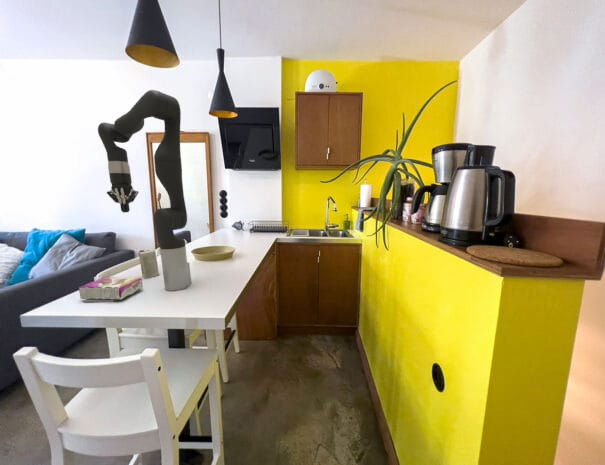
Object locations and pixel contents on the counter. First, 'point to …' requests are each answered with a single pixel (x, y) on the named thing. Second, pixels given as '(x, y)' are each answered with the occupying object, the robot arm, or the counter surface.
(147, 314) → the counter surface
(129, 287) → the candy bar box
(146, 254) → the skincare box
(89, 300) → the felt pad
